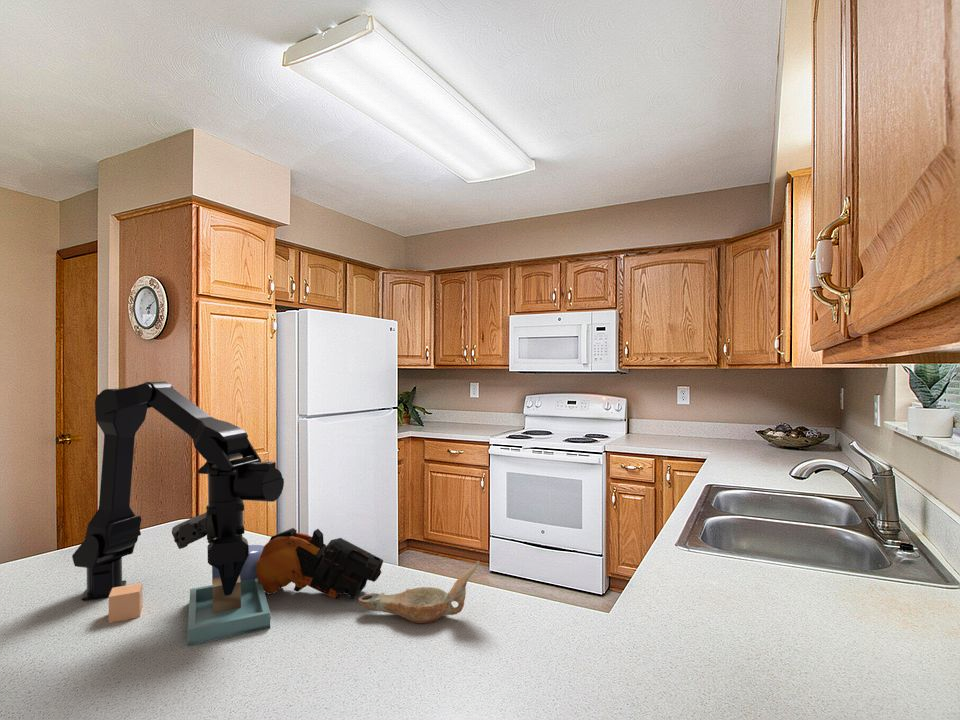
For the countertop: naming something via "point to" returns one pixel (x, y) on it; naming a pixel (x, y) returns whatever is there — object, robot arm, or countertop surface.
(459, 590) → the oil lamp
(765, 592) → the countertop surface
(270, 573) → the tool
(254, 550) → the mug
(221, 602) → the block walnut
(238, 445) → the robot arm
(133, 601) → the block terracotta
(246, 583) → the tray
